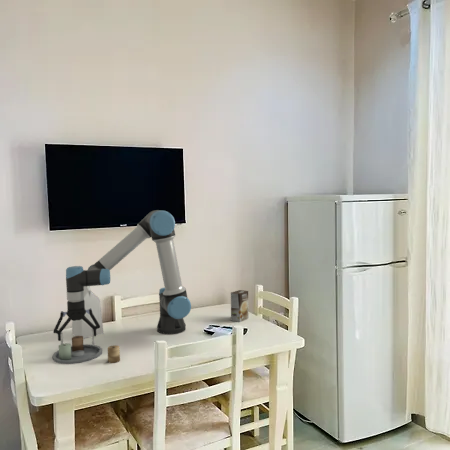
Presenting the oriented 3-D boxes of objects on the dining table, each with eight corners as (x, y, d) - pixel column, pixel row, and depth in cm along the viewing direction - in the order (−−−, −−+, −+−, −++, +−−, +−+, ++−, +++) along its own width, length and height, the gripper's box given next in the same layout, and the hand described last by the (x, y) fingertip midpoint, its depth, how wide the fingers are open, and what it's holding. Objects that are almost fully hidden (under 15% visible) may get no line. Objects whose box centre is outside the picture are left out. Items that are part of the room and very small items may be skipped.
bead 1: (73, 356, 190) (73, 343, 189) (67, 361, 185) (66, 347, 184) (63, 356, 191) (62, 342, 190) (56, 360, 186) (56, 346, 185)
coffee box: (240, 322, 239) (239, 293, 238) (230, 320, 242) (230, 292, 241) (249, 318, 246) (248, 290, 245) (239, 316, 250) (239, 289, 249)
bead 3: (121, 359, 187) (121, 345, 187) (116, 363, 183) (116, 349, 182) (111, 358, 188) (110, 345, 188) (106, 362, 184) (105, 349, 183)
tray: (110, 348, 200) (110, 345, 200) (87, 366, 180) (87, 362, 180) (69, 346, 205) (69, 343, 204) (42, 363, 184) (42, 360, 184)
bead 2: (83, 351, 196) (83, 338, 196) (72, 352, 195) (71, 339, 194) (83, 347, 201) (82, 335, 201) (72, 349, 199) (71, 336, 199)
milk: (103, 333, 224) (101, 284, 222) (82, 339, 216) (80, 288, 214) (92, 328, 232) (90, 281, 231) (72, 334, 224) (69, 285, 223)
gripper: (103, 295, 204) (105, 339, 205) (47, 300, 196) (49, 346, 197) (104, 299, 197) (106, 344, 198) (45, 304, 189) (48, 351, 190)
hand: (77, 345), depth 198 cm, fingers open, 13 cm apart
